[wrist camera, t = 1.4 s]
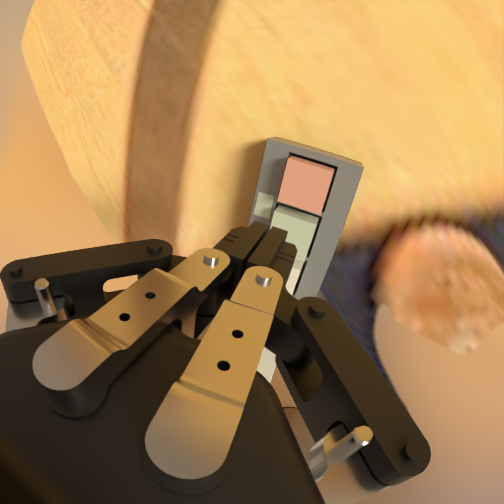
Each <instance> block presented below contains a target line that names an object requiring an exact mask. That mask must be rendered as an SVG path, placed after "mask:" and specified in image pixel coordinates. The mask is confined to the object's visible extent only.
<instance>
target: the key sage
mask: <svg viewBox="0 0 504 504" xmlns="http://www.w3.org/2000/svg"><path fill="white" fill-rule="evenodd" d="M318 219H319V218H318V217H315V216H312V215H309V214H306V213H303V212H300V211H297V210H294V209H291V208H288V207H285V206H282V205H279V206H278V207H277V208H276V210H275V211H274V214H273V218H272V222H271V226H270V229H271V228H272V226H274V227H277V228H280V229H283V230H286V231H288V234H287V238H286V242H289V243H292V244H294V245H295V246H296V248H297V251H298V252H297V255H296V258H295V260H298V261H301V262H304V261H305V258H306V256H307V253H308V250H309V247H310V244H311V241H312V238H313V235H314V232H315V229H316V226H317V223H318Z"/></svg>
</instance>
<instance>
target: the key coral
mask: <svg viewBox="0 0 504 504" xmlns="http://www.w3.org/2000/svg"><path fill="white" fill-rule="evenodd" d="M333 173H334V169H333V168H330V167H327V166H324V165H321V164H318V163H315V162H311V161H308V160H305V159H301V158H298V157H295V156H291V157H289V158H288V160H287V164H286V168H285V172H284V176H283V180H282V184H281V188H280V192H279V196H278V200H277V201H278V202H281V203H285V204H288V205H291V206H294V207H297V208H300V209H303V210H306V211H309V212H312V213H315V214H318V215H321V212H322V209H323V206H324V202H325V199H326V196H327V193H328V190H329V186H330V183H331V180H332V176H333Z"/></svg>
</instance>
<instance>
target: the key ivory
mask: <svg viewBox="0 0 504 504" xmlns="http://www.w3.org/2000/svg"><path fill="white" fill-rule="evenodd" d="M303 263H304V262H301V261H298V260H295V261H294V264H293V267H292V270H291V273H290V276H289V279H288V281H287V284H286V286H285V287H286V289H287V291H288V292H289V293H290V294H291V295H292V294H293V291H294V288H295V285H296V283H297V280H298V277H299V274H300V272H301V269H302V266H303Z"/></svg>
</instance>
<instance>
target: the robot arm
mask: <svg viewBox="0 0 504 504" xmlns="http://www.w3.org/2000/svg"><path fill="white" fill-rule="evenodd" d="M287 234H288V231H286V230H283V229H280V228H277V227H274V226H272V228H271V229H270V225H268V224H265V223H262V222H259V221H256V220H255V221H254V222H253V223H252V224H251V225H250V226H249V227H248V228H244V227H238V228H234V229H232V230H231V231H230V232H229V233H228V234H227V235H226V236H225V237H224V238H223V239H222V240H221V241H220V242H219V243H218V244H216V245H215V246H214V247H213V248H203V249H199V250H197V251H195V252H194V253H193V254H192V255H190V256H189V257H182V256H176V255H172V253H173V248H172V246H171V245H170V244H169V243H168V242H166V241H163V240H159V239H149V240H141V241H134V242H127V243H120V244H114V245H106V246H100V247H93V248H87V249H80V250H74V251H67V252H61V253H55V254H49V255H43V256H38V257H31V258H26V259H20V260H15V261H13V262H10V263H9V264H7V265H6V266H5V267H4V268H3V269H2V271H1V273H0V278H1V281H2V284H3V287H4V290H5V292H6V297H7V300H8V310H7V320H6V332H4V333H2V334H0V504H359V503H361V502H362V501H364V500H366V499H368V498H369V497H371V496H372V495H374V494H376V493H379V492H381V491H384V490H386V489H388V488H391V487H393V486H395V485H397V484H400V483H402V482H404V481H406V480H408V479H410V478H412V477H414V476H416V475H418V474H420V473H422V472H423V471H424V470H425V469H426V467H427V466H428V464H429V462H430V457H431V452H430V447H429V444H428V442H427V440H426V439H425V438H424V436H423V434H422V433H421V431H420V430H419V428H418V427H417V425H416V424H415V422H414V421H413V419H412V418H411V416H410V415H409V413H408V412H407V410H406V409H405V407H404V406H403V404H402V403H401V401H400V400H399V398H398V397H397V396H396V394H395V393H394V391H393V390H392V388H391V387H390V385H389V384H388V383H387V381H386V380H385V378H384V377H383V375H382V374H381V373H380V371H379V370H378V368H377V367H376V365H375V364H374V363H373V361H372V360H371V358H370V357H369V356H368V354H367V353H366V351H365V350H364V349H363V347H362V346H361V345H360V343H359V342H358V340H357V339H356V338H355V336H354V335H353V334H352V332H351V331H350V329H349V328H348V327H347V325H346V324H345V323H344V321H343V320H342V319H341V317H340V316H339V315H338V313H337V312H336V310H335V309H334V308H333V307H332V306H331V305H330V304H329V303H328V302H326V301H325V300H323V299H320V298H317V297H304V298H301V299H300V300H298V299H296V298H295V297H293V296H292V295H291V294H290V293H289V292H288V291H287V289H286V287H285V286H286V284H287V281H288V279H289V276H290V273H291V270H292V267H293V264H294V261H295V258H296V255H297V252H298V251H297V248H296V246H295V245H294V244H292V243H289V242H286V238H287ZM131 275H138V281H136V282H135V283H134V284H132V285H131V286H129V287H128V288H127V289H124V290H118V291H113V292H105V291H103V285H104V283H105V282H106V281H107V280H109V279H114V278H120V277H126V276H131ZM264 347H265V348H267V349H268V350H269V351H271V352H272V353H274V354H275V355H276V356H275V362H276V365H277V367H278V369H279V371H280V373H281V375H282V377H283V379H284V382H285V384H286V386H287V388H288V390H289V392H290V394H291V396H292V398H293V400H294V402H295V404H296V406H297V408H298V409H297V408H284V409H283V407H282V405H281V402H280V400H279V398H278V396H277V393H276V392H275V390H274V388H273V387H272V385H271V384H270V383H269V382H268V380H267V379H266V378H265V377H264V376H263V375H262V374H261V373H259V372H258V371H257V367H258V364H259V361H260V358H261V355H262V352H263V349H264ZM309 465H310V466H311V471H310V469H309ZM311 472H312V473H311Z"/></svg>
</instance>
